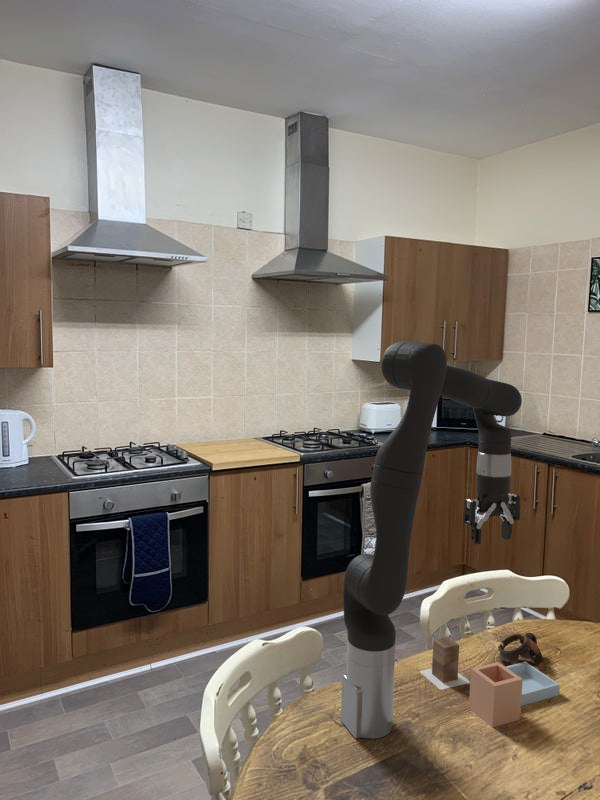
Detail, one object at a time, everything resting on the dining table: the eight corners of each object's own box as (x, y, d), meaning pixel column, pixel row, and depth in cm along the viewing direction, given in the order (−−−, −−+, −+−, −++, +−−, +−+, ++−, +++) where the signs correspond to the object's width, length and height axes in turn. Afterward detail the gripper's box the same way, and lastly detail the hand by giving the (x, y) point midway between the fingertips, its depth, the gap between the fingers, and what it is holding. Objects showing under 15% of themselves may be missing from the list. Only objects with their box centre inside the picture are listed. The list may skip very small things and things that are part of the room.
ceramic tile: (440, 692, 131) (440, 689, 131) (419, 673, 139) (419, 671, 139) (470, 684, 135) (470, 682, 135) (448, 667, 142) (448, 664, 142)
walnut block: (442, 683, 134) (444, 648, 133) (431, 673, 138) (433, 639, 137) (457, 679, 136) (459, 644, 135) (446, 670, 139) (448, 636, 139)
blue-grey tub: (511, 711, 125) (512, 697, 125) (478, 685, 134) (479, 672, 134) (559, 697, 130) (559, 684, 130) (524, 674, 139) (525, 661, 139)
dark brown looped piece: (543, 684, 137) (526, 652, 136) (505, 687, 143) (488, 656, 142) (555, 649, 146) (538, 619, 146) (519, 654, 152) (503, 625, 152)
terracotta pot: (492, 730, 119) (494, 686, 118) (468, 710, 125) (470, 668, 124) (520, 722, 122) (522, 679, 121) (495, 703, 128) (498, 661, 127)
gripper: (479, 478, 133) (477, 550, 134) (530, 472, 138) (527, 542, 140) (457, 471, 140) (455, 540, 141) (506, 466, 145) (504, 532, 147)
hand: (491, 541), depth 141 cm, fingers open, 8 cm apart
